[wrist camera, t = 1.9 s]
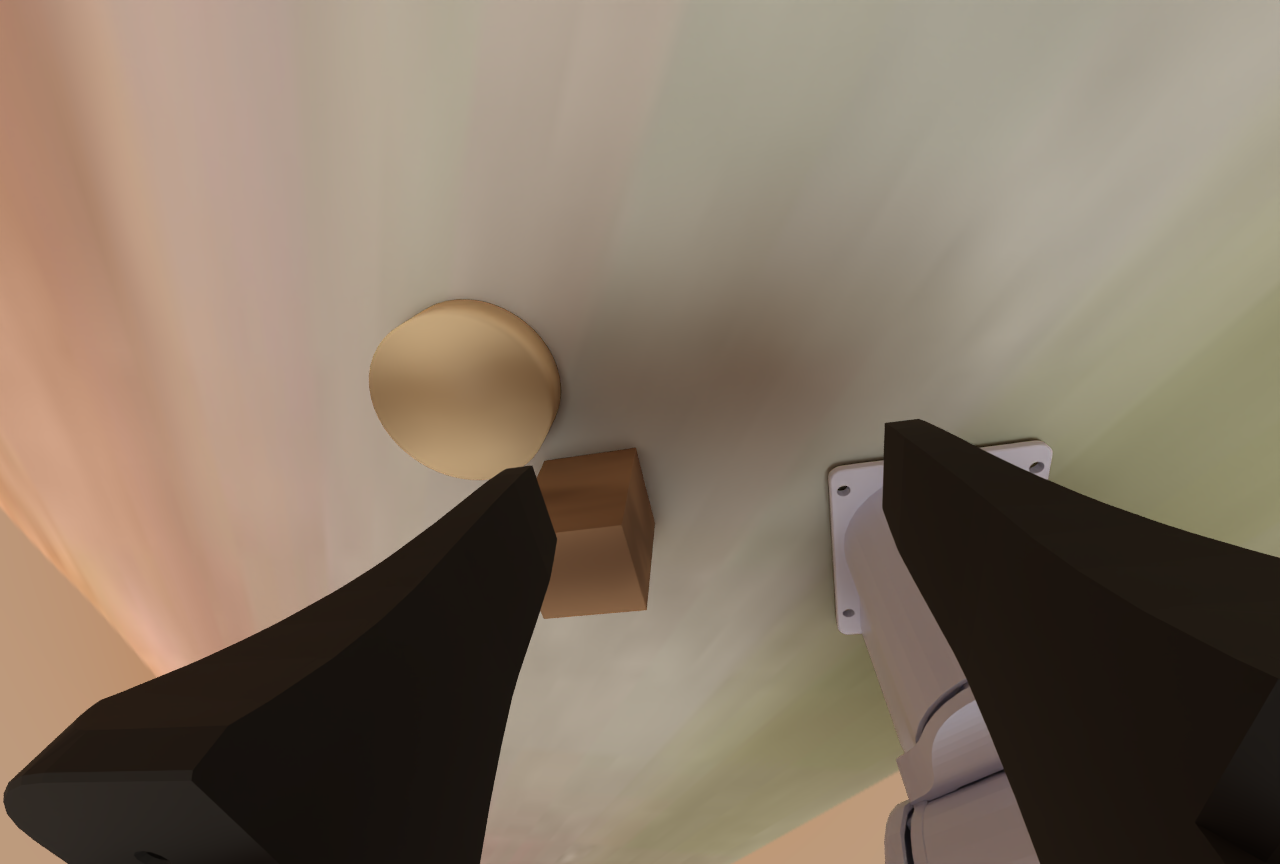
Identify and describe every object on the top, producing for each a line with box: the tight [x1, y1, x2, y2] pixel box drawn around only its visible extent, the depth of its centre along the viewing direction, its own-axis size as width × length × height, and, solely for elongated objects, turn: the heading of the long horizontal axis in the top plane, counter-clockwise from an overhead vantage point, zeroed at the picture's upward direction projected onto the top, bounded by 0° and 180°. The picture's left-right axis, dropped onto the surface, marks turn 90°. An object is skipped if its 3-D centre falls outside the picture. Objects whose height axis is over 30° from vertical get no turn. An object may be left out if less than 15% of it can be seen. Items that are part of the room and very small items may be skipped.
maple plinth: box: [369, 299, 561, 480], centre depth 20 cm, size 7×7×2 cm
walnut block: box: [537, 448, 655, 619], centre depth 21 cm, size 4×4×5 cm
